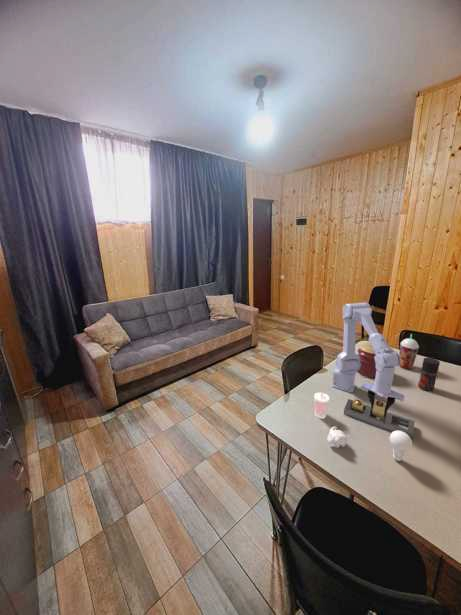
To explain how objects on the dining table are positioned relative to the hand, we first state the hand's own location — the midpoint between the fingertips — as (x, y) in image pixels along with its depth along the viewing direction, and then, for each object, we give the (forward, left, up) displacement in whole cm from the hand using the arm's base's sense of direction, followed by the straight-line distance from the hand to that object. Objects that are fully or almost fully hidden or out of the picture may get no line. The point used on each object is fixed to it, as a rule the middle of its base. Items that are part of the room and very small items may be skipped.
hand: (378, 409), depth 100 cm
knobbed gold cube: (0, 0, -2) cm, 3 cm away
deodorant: (+16, +37, -5) cm, 41 cm away
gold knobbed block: (-8, 0, -5) cm, 9 cm away
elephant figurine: (-10, -22, -5) cm, 25 cm away
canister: (-9, +38, -5) cm, 39 cm away
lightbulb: (+8, -17, -5) cm, 20 cm away
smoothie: (+7, +55, -5) cm, 56 cm away
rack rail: (0, 0, -5) cm, 5 cm away
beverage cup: (-20, -10, -5) cm, 23 cm away
